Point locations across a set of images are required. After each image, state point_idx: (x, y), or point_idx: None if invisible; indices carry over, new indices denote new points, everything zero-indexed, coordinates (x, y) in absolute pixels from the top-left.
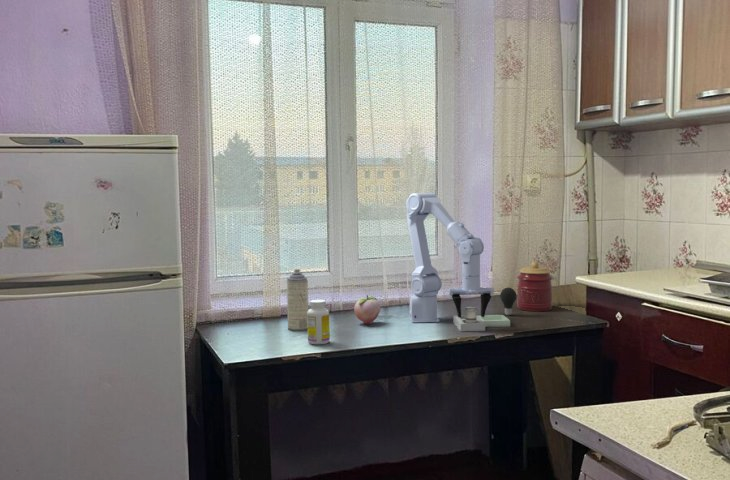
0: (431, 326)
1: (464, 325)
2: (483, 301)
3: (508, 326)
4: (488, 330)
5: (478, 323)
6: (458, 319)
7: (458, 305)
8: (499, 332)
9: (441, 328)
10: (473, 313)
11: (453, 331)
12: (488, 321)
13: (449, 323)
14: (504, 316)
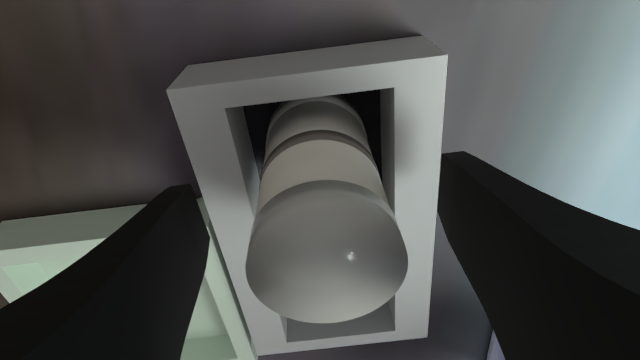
0: (597, 203)
1: (398, 55)
2: (78, 332)
3: (15, 219)
4: (159, 88)
5: (242, 80)
6: (420, 234)
7: (578, 222)
8: (34, 2)
9: (550, 147)
10: (295, 175)
11: (487, 39)
12: None
13: (442, 280)
14: None
